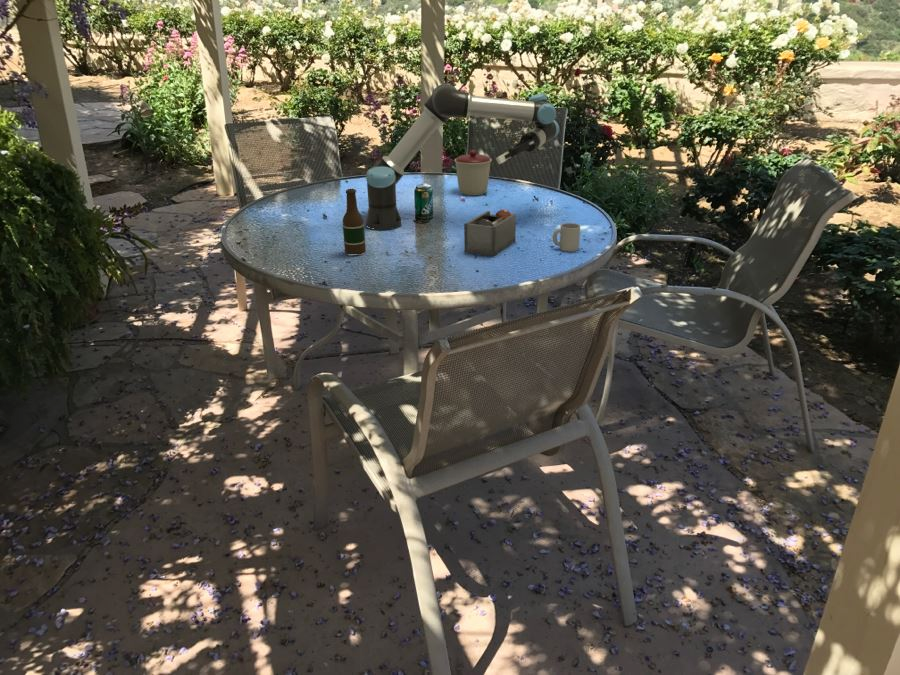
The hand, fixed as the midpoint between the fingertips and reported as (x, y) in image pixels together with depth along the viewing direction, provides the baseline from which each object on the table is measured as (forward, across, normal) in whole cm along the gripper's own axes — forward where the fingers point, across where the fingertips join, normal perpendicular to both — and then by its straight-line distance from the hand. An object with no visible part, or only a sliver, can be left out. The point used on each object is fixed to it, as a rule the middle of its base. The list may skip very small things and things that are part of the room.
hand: (498, 160), depth 277 cm
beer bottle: (+63, +27, -5) cm, 68 cm away
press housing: (+26, -2, -26) cm, 37 cm away
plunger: (+22, -3, -23) cm, 32 cm away
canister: (-34, +57, -14) cm, 67 cm away
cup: (+11, -22, -39) cm, 46 cm away
